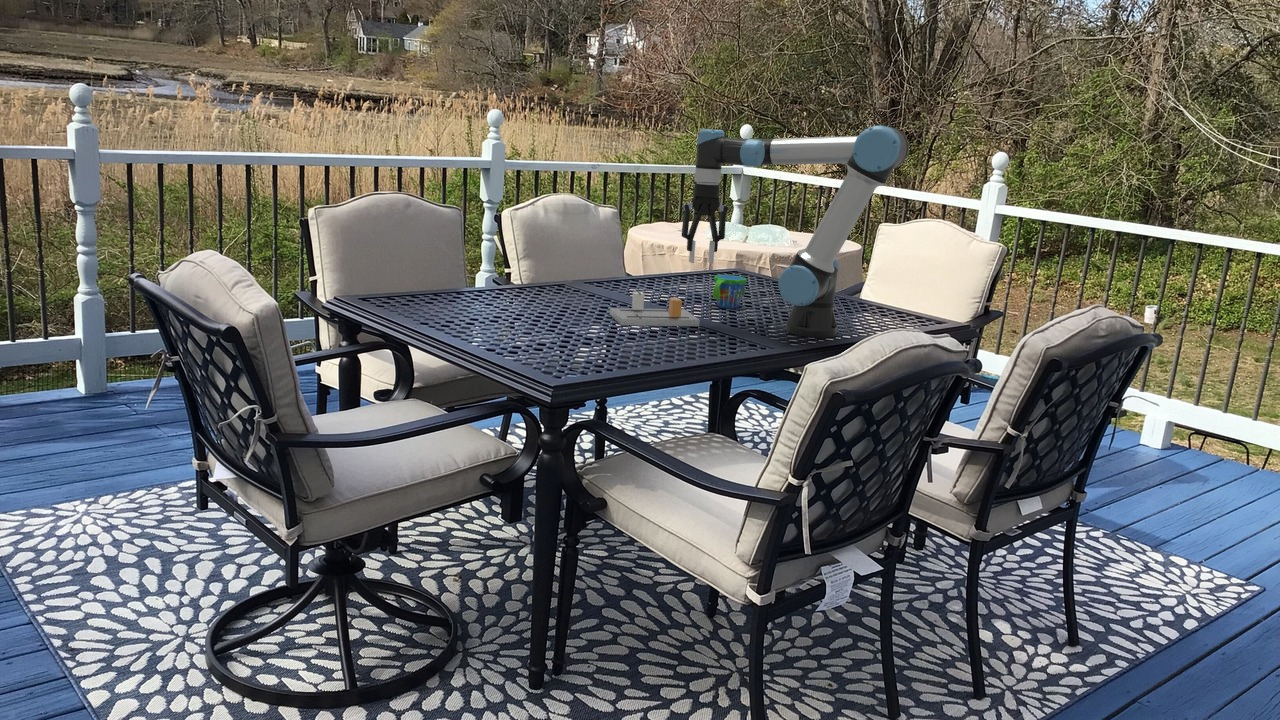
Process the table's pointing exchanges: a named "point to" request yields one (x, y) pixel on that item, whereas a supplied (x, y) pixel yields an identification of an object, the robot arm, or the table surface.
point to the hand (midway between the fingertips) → (701, 262)
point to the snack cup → (729, 290)
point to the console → (652, 317)
